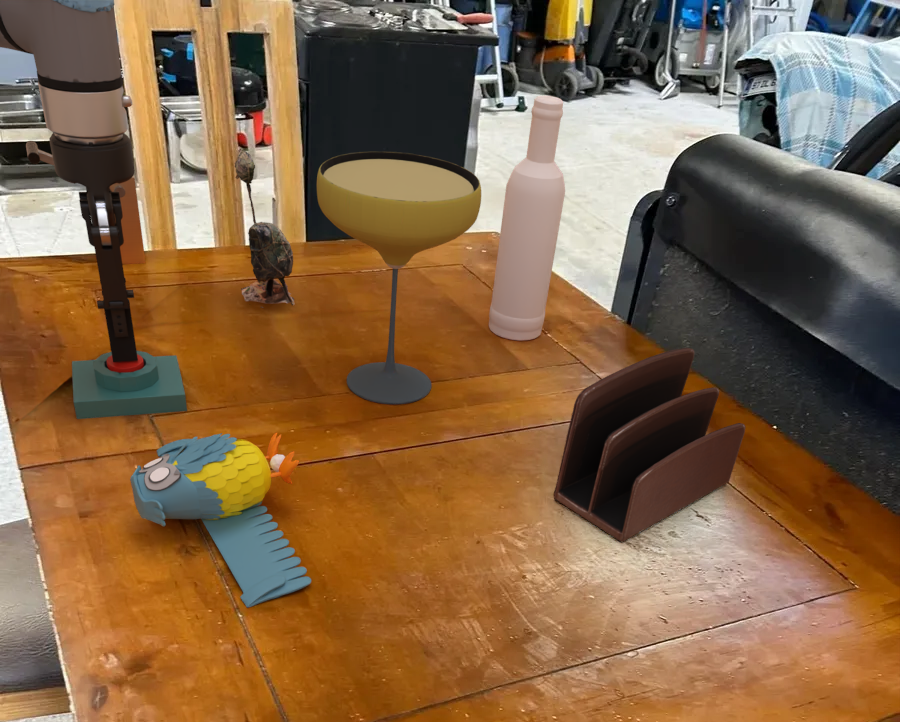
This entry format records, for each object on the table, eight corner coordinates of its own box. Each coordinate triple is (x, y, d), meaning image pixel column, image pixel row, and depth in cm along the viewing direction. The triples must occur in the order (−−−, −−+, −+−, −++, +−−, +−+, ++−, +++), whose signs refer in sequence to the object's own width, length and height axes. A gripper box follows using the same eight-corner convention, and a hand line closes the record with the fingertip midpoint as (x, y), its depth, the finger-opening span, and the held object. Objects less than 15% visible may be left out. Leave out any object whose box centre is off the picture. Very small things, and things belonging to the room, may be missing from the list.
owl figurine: (347, 502, 77) (175, 547, 71) (348, 578, 83) (188, 626, 77) (236, 362, 95) (90, 388, 88) (243, 433, 100) (106, 462, 94)
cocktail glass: (486, 382, 115) (512, 179, 99) (405, 436, 103) (420, 214, 87) (375, 339, 122) (383, 141, 106) (287, 384, 110) (281, 170, 94)
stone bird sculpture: (255, 323, 122) (248, 169, 109) (230, 291, 129) (220, 143, 116) (311, 317, 125) (310, 166, 112) (283, 286, 133) (279, 141, 120)
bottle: (525, 346, 125) (563, 110, 105) (477, 330, 127) (506, 96, 108) (551, 329, 130) (591, 100, 111) (504, 313, 133) (535, 87, 113)
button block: (77, 419, 99) (70, 387, 97) (75, 377, 106) (68, 346, 104) (187, 411, 103) (183, 379, 100) (178, 371, 110) (174, 341, 107)
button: (109, 383, 101) (107, 369, 100) (108, 367, 104) (105, 353, 103) (146, 380, 102) (144, 367, 101) (143, 365, 105) (141, 351, 104)
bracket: (89, 284, 127) (72, 182, 118) (84, 261, 133) (66, 162, 124) (176, 280, 131) (165, 181, 122) (166, 257, 137) (155, 161, 128)
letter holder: (551, 499, 96) (575, 381, 87) (661, 446, 107) (692, 336, 98) (621, 545, 91) (655, 424, 82) (729, 484, 102) (769, 371, 93)
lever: (25, 165, 116) (30, 146, 115) (23, 152, 120) (28, 135, 119) (127, 204, 123) (132, 187, 122) (122, 191, 127) (127, 175, 126)
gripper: (134, 152, 83) (164, 382, 98) (125, 116, 92) (154, 332, 107) (47, 152, 81) (92, 387, 96) (47, 115, 90) (88, 335, 105)
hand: (125, 358), depth 102 cm, fingers closed
